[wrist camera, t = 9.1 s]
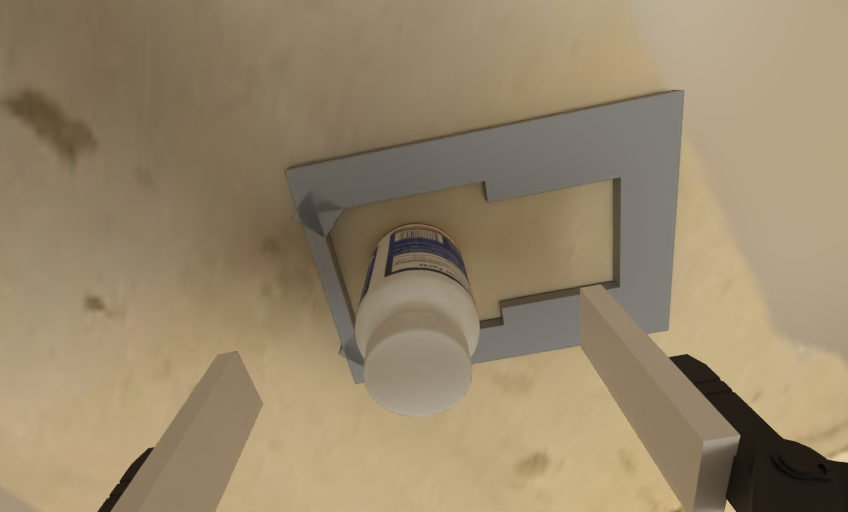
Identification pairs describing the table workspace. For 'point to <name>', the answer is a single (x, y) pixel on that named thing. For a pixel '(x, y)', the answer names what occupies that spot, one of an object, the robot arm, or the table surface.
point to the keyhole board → (515, 177)
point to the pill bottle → (417, 322)
